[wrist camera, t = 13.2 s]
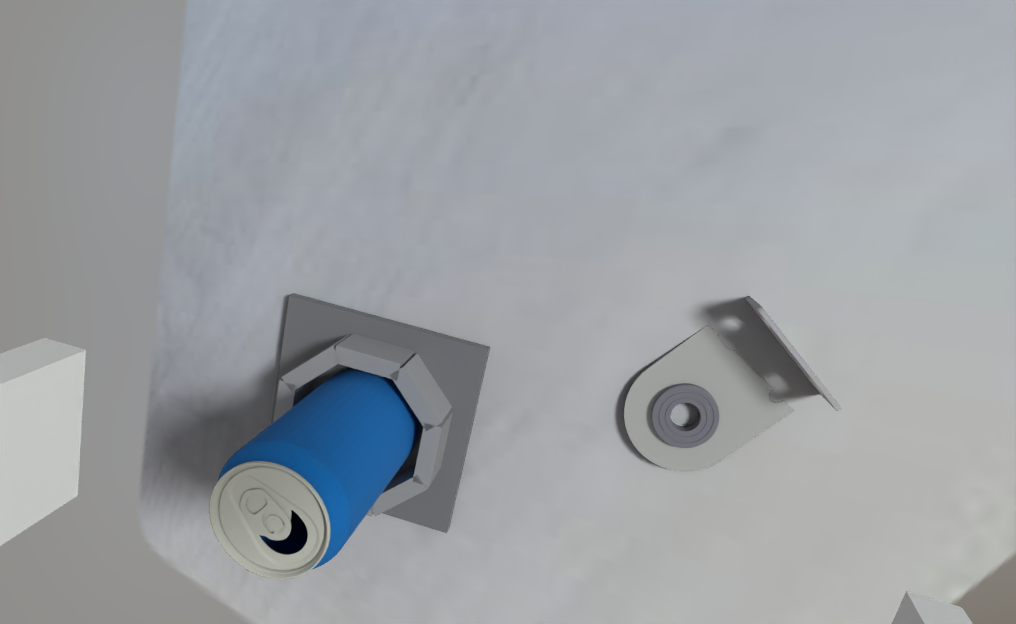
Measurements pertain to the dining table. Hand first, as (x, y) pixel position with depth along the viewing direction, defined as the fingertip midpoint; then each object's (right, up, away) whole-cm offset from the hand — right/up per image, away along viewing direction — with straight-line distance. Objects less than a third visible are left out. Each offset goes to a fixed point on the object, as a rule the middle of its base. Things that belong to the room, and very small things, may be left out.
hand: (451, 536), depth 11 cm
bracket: (+13, -1, +29) cm, 31 cm away
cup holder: (-7, -3, +32) cm, 33 cm away
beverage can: (-7, -3, +32) cm, 33 cm away
